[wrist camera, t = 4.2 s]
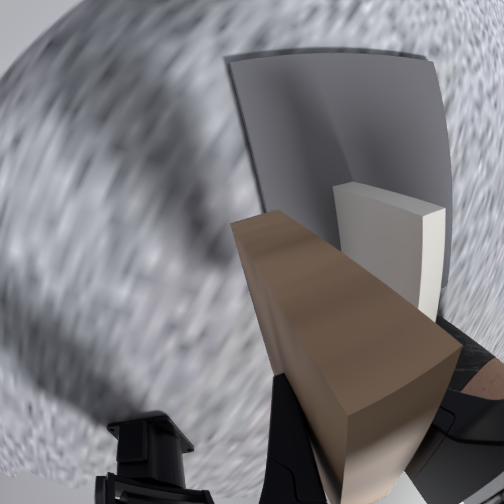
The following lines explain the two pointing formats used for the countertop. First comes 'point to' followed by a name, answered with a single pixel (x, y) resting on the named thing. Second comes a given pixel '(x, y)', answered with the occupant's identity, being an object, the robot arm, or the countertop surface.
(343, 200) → the tile
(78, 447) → the countertop surface
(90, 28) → the countertop surface
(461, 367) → the travel mug
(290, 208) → the mat
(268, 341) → the flat wooden plank
